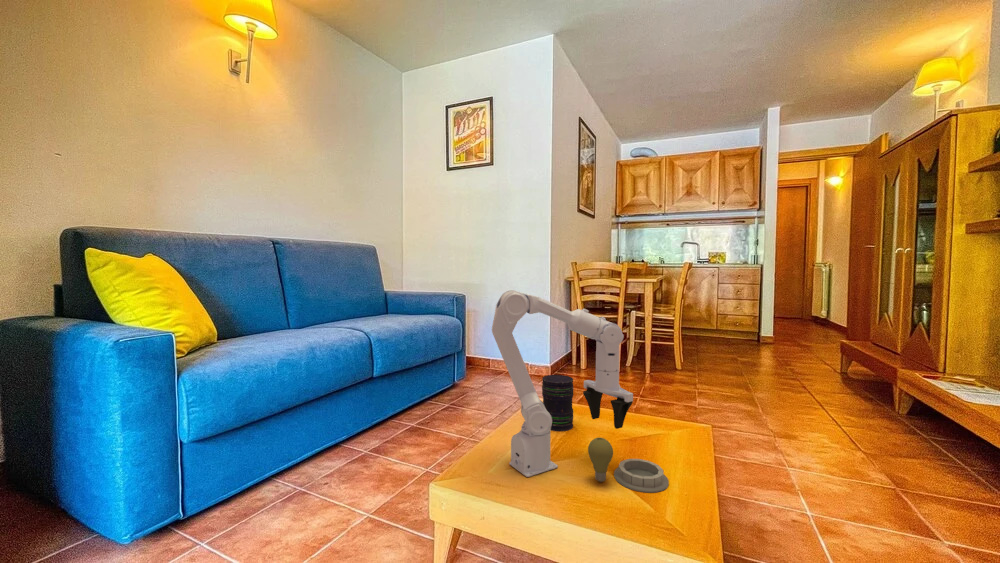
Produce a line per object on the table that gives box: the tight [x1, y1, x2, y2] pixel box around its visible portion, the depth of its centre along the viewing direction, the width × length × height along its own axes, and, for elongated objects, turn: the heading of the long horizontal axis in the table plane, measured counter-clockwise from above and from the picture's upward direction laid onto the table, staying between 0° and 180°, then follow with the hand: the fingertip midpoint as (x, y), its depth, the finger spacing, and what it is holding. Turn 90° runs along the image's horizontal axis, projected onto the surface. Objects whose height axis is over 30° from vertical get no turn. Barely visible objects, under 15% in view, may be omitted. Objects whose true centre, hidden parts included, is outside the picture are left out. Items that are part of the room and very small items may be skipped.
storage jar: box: [541, 374, 574, 432], centre depth 126 cm, size 10×10×15 cm
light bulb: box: [587, 437, 614, 483], centre depth 92 cm, size 6×6×10 cm
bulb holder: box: [613, 458, 670, 494], centre depth 93 cm, size 12×12×2 cm
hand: (606, 422), depth 101 cm, fingers open, 7 cm apart
